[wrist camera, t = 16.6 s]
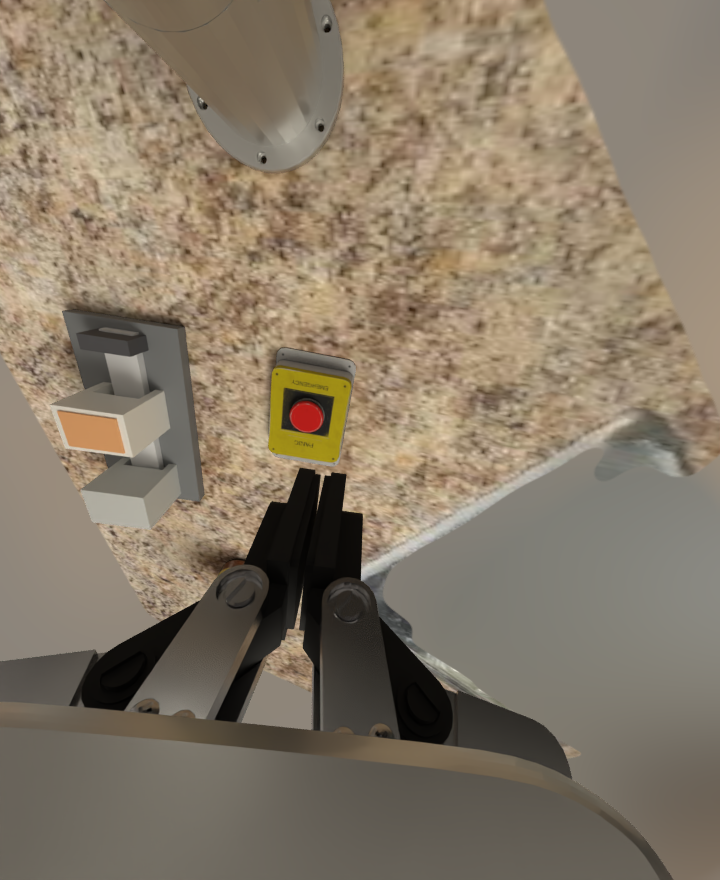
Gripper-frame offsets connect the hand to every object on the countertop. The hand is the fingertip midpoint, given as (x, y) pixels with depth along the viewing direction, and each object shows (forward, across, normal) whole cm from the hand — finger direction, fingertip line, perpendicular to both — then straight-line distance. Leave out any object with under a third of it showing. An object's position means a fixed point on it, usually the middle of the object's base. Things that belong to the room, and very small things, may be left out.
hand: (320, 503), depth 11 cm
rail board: (+27, +25, +13) cm, 39 cm away
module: (+26, +25, +11) cm, 37 cm away
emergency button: (+28, +4, +9) cm, 30 cm away
